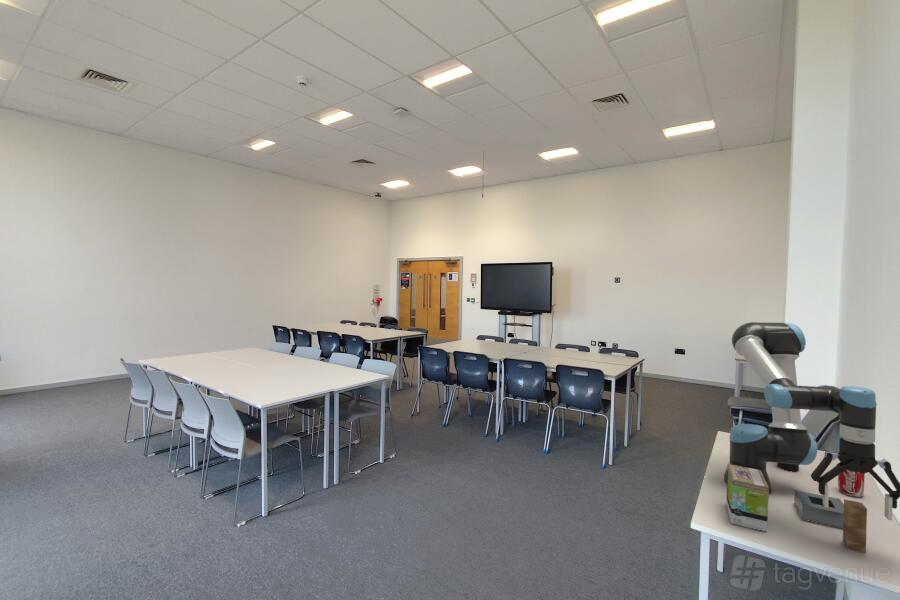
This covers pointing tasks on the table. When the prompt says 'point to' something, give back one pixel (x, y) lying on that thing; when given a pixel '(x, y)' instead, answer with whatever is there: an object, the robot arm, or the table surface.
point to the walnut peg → (854, 525)
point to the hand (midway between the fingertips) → (855, 511)
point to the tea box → (747, 497)
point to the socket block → (819, 509)
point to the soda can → (851, 483)
